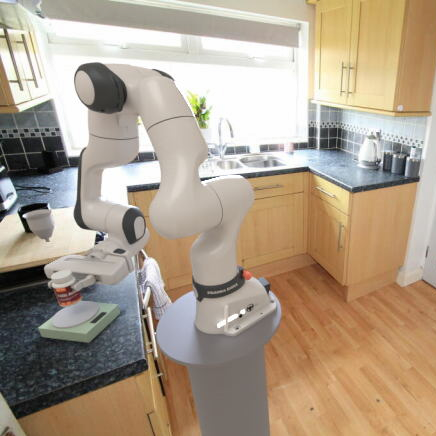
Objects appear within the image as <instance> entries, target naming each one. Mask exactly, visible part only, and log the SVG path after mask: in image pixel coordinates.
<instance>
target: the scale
mask: <svg viewBox="0 0 436 436" xmlns="http://www.w3.org/2000/svg"><path fill="white" fill-rule="evenodd" d="M120 314H121V310H120V306H119V304H117V303H105V302H98V301H91V300H81V301H80V302H79V303H77V304H75V305H73V306H69V307H62V308H61V309H60V310H59V311H57V312H56V313H55V314H54V315H53V316H51V317H50V318H49V319H48V320H46V321H45V322H44V323H42V324H41V325H40V326H39V327H37V330H38V332H39V333H40V336H41V338H46V339H55V340H62V341H71V342H79V343H86V344H87V343H88V344H90V343H91V342H92V341H93V340H94V339H95V338H96V337H97V336H98V335H99V334H100V333H102V331H104V330H105V328H107V327H108V326H109V325H110V324H111V323H112V322H113V321H114V320H115V319H116V318H117V317H118V316H119V315H120Z"/></svg>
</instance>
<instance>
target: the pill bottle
mask: <svg viewBox="0 0 436 436" xmlns="http://www.w3.org/2000/svg"><path fill="white" fill-rule="evenodd" d="M51 280H52V282H53V283H52V287H53V289H52V290H53V292H54V294H55V298H56V300H57V302H58V305H59V307H62V308H65V307H69V306H73V305H75V304H77V303H79V302H80V301H82V299H83V295H82V293H81V290H79V291H72V290H71V287H70V286H71V284H73V283H74V282H78V281H76V278H75V277H73V275H72V272H71V271H70V270H62V271H58V272H56V273H54V274H53V275H52V276H51Z"/></svg>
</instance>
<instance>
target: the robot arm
mask: <svg viewBox="0 0 436 436" xmlns="http://www.w3.org/2000/svg"><path fill="white" fill-rule="evenodd" d="M73 84H74V89H75V93H76V95H77V97H78V99H79V101H80V102H81V103H82V104H83V105H84V106H85V107H86V108H87V128H88V143H87V145H86V146H85V147H83V148H82V149H81V151H80V153H79V156H78V163H77V179H76V180H77V183H76V200H75V203H74V208H73V213H72V214H73V219H74V222H75V224H76V226H77V227H79V228H80V229H82V230H84V231H85V230H87V231H93V232H98V233H99V232H100V233H102V234H103V233H104V234H107V238H106V239H104V240H102V241H99V242H98V243H97V244H95V245H93V246H92V247H90V248H89V249H87V250H86V252H85V255H82V254H80V255H79V254H66V255H63V256H62V257H61V258H59V259H57V260H55V261H53V262H51V263H49V264H45V266H44V267H43V270H44V274H45V275H46V277H47V279H51V276H52V275H53V274H54V273H56V272H58V271H62V270H70V271H71V272H72V275H73V277H75V278H76V281H77V282H74V283H73V284H71V286H70V287H71V290H72V291H79V290H80V291H81V290H83V288H87V287H90V286H93V285H94V284H99V285H107V286H115V285H118V284H120V283H122V282H123V281H124V280H125V279H126V278H127V277H128V276H129V275H130V274H131V273H133V272H134V271H135V265H134V261H133V257H135V256H136V255H137V254H139V253H140V252H141V251H142V250H143V249H144V248H145V247H146V246H147V244H148V243H149V241H150V238H151V233H150V231H149V229H148V227H147V223H146V218H145V215H144V213H143V211H142V210H141V209H140V208H139V207H138V206H133V205H130V204H126V203H121V202H117V201H114V200H113V201H112V200H109V199H107V198H105V197H103V195H102V185H103V183H102V182H103V173H104V171H105V170H106V169H113V168H118V167H119V168H120V167H122V166H125V165H127V164H129V163H131V162H133V161H134V160H135V159H136V158H137V156H138V155H139V153H140V152H139V151H140V132H139V122H138V119H139V117H140V119H141V122H142V125H143V127H144V130H145V131H146V134H147V136H148V138H149V140H150V143H151V145H152V148H153V150H154V153H155V155H156V158H157V161H158V164H159V169H160V170H159V171H160V182H159V187H158V190H157V192H156V193H155V196H154V197H153V199H152V200H151V202H150V205H149V208H148V218H149V219H148V220H149V221H150V222H149V223H150V225H151V227H152V228H153V229H154V231H155V232H156V233H157V234H158V235H160V236H161V237H162V238H164V239H167V240H171V241H172V240H179V239H184V238H189V237H192V236H195V235H198V234H199V235H198V237H197V238H196V239H195V240H194V242H193V243H192V245H191V247H190V250H189V259H190V265H191V270H192V276H191V282H192V286H191V287H192V291H194V296H195V298H196V314H195V319H194V323H195V326H196V327H197V329H198V330H200V331H201V332H204V333H207V334H224V335H227V336H231V337H234V336H237V335H238V334H240V333H241V332H243V331H244V330H246V329H247V328H249V327H251V326H252V325H254V324H255V323H257V322H258V321H260V320H261V319H263V318H264V317H266V316H268V315H269V314H271V313H272V312H274V311H275V310H276V309H277V305H276V300H275V298H274V297H273V295H272V294H271V293H270V292H269V291H271V283H270V281H268V280H267V279H266V278H265V277H263V276H261V277H258V278H256V277H255V276H253V274H252V273H251V272H250V271H249V270H245V267H243V266H242V265H240V264H239V263H238V254H237V253H238V252H237V248H238V247H237V245H238V238H239V235H240V231H241V227H242V225H243V222H244V220H245V218H246V216H247V215H248V213H249V212H250V210H251V209H252V207H253V206H254V204H255V199H256V197H255V191H254V188H253V186H252V183H250V181H249V180H248V179H247V178H245V177H244V176H242V175H222V176H219V177H218V176H217V177H215V178H211V179H207V180H204V181H202V180H201V178H200V177H201V176H200V171H199V169H200V168H199V167H200V166H201V165H202V164H203V163H204V162H205V161H206V159H207V158H208V155H209V145H208V143H207V141H206V138H205V137H204V136H205V135H204V134H203V131H202V129H201V127H200V125H199V121H198V119H197V117H196V115H195V113H194V111H193V109H192V107H191V105H190V103H189V101H188V99H187V98H186V96H185V94H184V93H183V92H182V90H181V88H180V87H179V86H178V83H177V82H176V80H175V79H174V77H173V76H172V75H170V74H169V73H167V72H165V71H163V70H160V69H156V68H147V67H141V66H136V65H131V64H126V63H102V62H98V61H96V62H87V63H82V64H80V65H79V66H77V69H76V71H75V72H74V77H73ZM52 283H53V282H52V279H51V280H50V281H48V282H47V287H48V289H52V290H53V287H52ZM237 329H238V330H237Z"/></svg>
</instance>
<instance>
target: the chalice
mask: <svg viewBox="0 0 436 436" xmlns="http://www.w3.org/2000/svg"><path fill="white" fill-rule="evenodd" d="M22 218H24V219H26V223H27V225H28V227H29V230H30V231H31V232H32V233H33V234H34V235H35V236H36V237H38V238H39V239H40V240H45V243H46V242H51V240H50V238H52V237H53V233H54V230H55V222H54V220H53V217H52V210H51V209H36V210H32V211H29V212H26V213H24V214H22Z"/></svg>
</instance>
